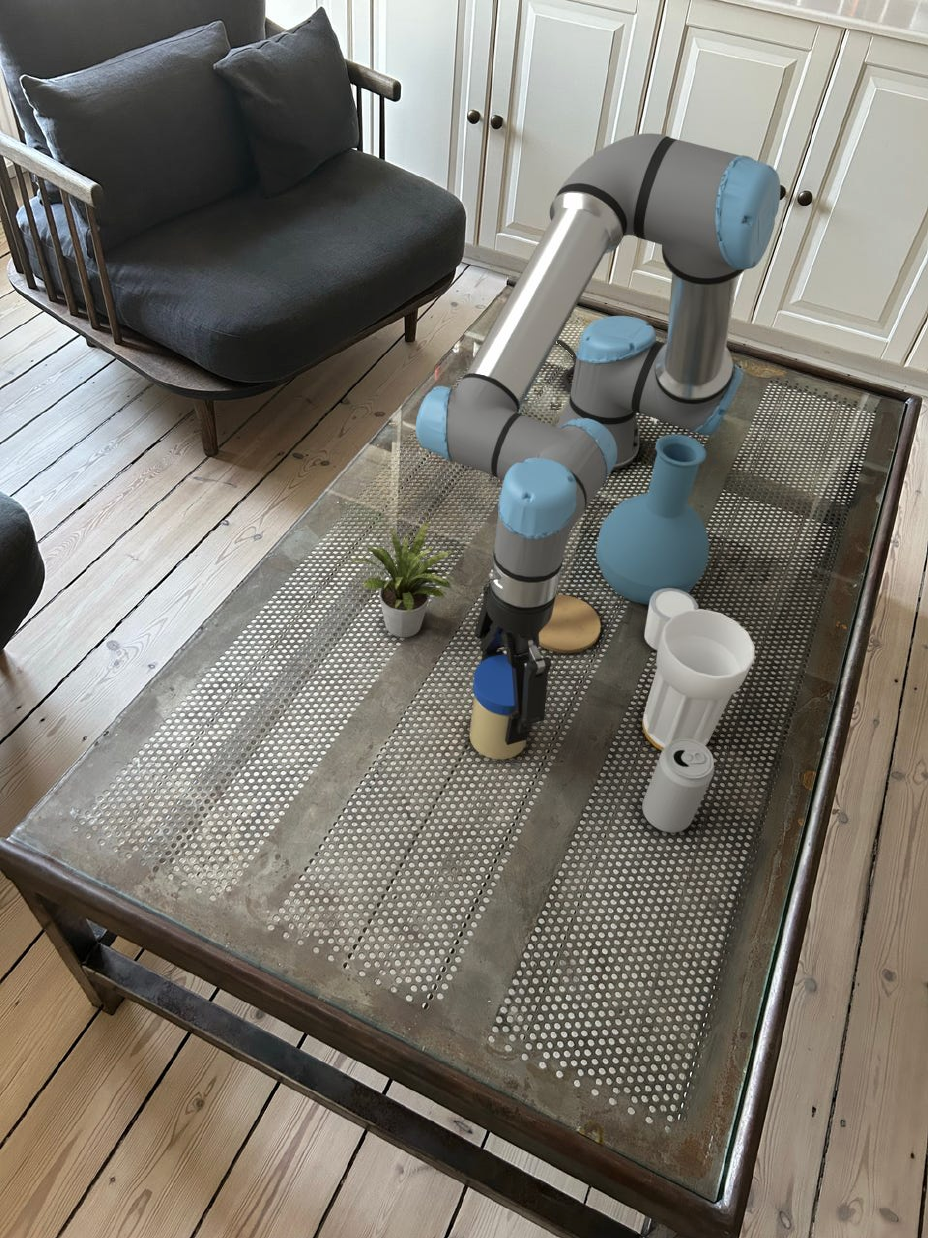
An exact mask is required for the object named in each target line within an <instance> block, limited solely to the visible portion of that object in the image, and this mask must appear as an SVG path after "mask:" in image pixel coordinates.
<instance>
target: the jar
mask: <svg viewBox="0 0 928 1238" xmlns="http://www.w3.org/2000/svg"><path fill="white" fill-rule="evenodd" d="M471 708H472V709H471V715H470V716H471V717H470V724H469V732H468V736H469V737H468V738H469V741H470V743H471V745H472V747H473V748H474V749H475V751H476V752H478V753H479V754H480V755H482V756H484V757H486V758H488V759H492V760H508V759H511V758H514V757H516V756H517V755H519V754H521V752H522V751H524V749H525V747H526V745H527V743H528V742H527V741H528V739H527V740H524V741H520V742H517V743H513V744H510V745H507V744H506V742H505V737H506V732H507V726H508V720H509V715H500V714H496V713H493V712H491V711H489V710H487V709H486V708H484V707H483V706H482V705H481V704H480V703H479V702H478V701H477V699H476V697H475V695H474V694H473V700H472V707H471Z"/></svg>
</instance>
